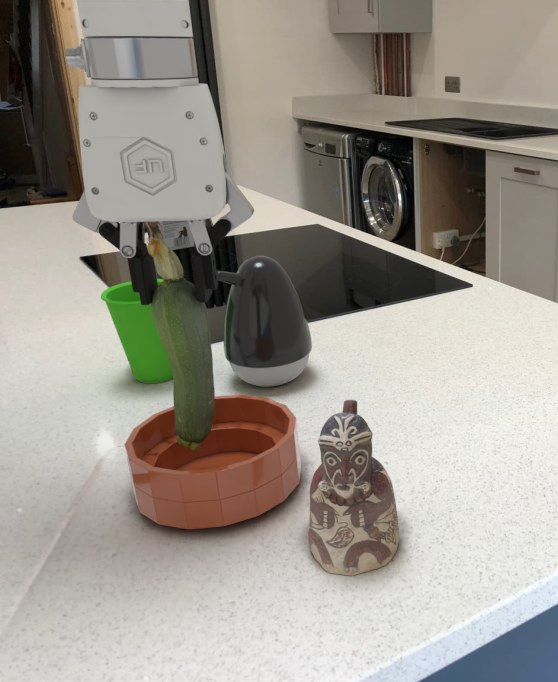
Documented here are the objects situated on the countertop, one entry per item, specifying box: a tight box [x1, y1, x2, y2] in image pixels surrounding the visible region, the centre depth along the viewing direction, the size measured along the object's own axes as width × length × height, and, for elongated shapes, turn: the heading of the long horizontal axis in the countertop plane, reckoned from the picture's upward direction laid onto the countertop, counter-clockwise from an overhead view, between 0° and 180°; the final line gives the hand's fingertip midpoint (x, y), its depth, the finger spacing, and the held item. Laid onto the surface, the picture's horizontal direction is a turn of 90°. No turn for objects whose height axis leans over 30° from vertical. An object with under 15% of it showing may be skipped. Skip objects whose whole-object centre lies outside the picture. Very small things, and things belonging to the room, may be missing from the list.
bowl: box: [123, 394, 302, 530], centre depth 66 cm, size 14×14×6 cm
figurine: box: [307, 399, 400, 577], centre depth 57 cm, size 7×7×12 cm
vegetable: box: [147, 238, 216, 451], centre depth 63 cm, size 4×4×20 cm
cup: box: [100, 278, 173, 384], centre depth 88 cm, size 9×9×11 cm
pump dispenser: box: [216, 255, 313, 388], centre depth 86 cm, size 10×10×15 cm
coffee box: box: [146, 220, 196, 251], centre depth 147 cm, size 9×6×16 cm
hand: (177, 296), depth 61 cm, fingers closed on vegetable, 3 cm apart
